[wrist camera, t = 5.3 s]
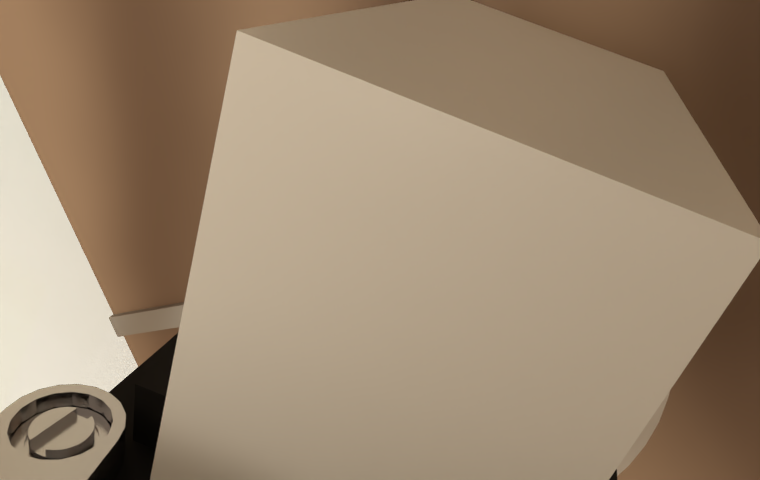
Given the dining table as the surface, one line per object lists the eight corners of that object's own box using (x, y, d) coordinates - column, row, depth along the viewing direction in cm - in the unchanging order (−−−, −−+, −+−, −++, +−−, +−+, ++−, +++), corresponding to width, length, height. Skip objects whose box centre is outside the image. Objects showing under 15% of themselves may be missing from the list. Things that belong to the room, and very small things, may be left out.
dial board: (991, -562, 9) (1072, -672, 7) (1015, 569, 14) (1063, 638, 13) (-6, -47, 16) (-66, -49, 15) (267, 556, 22) (242, 599, 21)
